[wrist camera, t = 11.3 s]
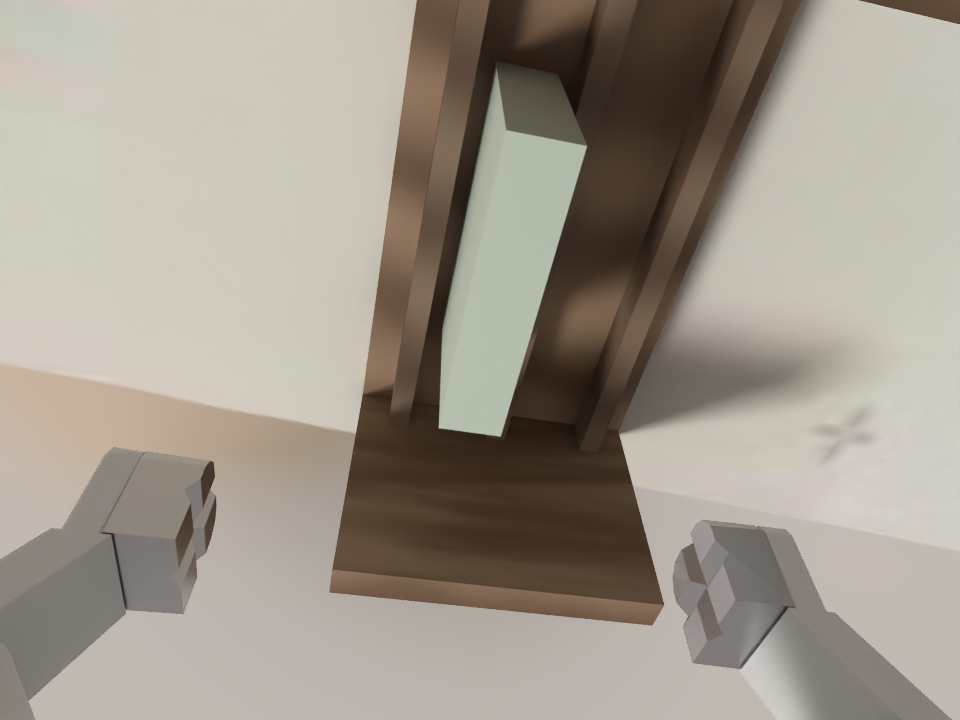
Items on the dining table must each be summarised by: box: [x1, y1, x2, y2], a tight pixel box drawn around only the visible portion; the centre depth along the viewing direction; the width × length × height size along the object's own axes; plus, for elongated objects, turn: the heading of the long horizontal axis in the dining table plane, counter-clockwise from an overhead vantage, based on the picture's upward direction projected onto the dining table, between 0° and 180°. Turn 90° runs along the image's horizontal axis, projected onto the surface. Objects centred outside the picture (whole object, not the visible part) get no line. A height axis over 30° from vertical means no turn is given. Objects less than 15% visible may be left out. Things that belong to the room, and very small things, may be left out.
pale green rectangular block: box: [439, 61, 587, 437], centre depth 28 cm, size 12×2×8 cm, turn 168°
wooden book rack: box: [330, 0, 960, 625], centre depth 27 cm, size 26×14×12 cm, turn 168°
